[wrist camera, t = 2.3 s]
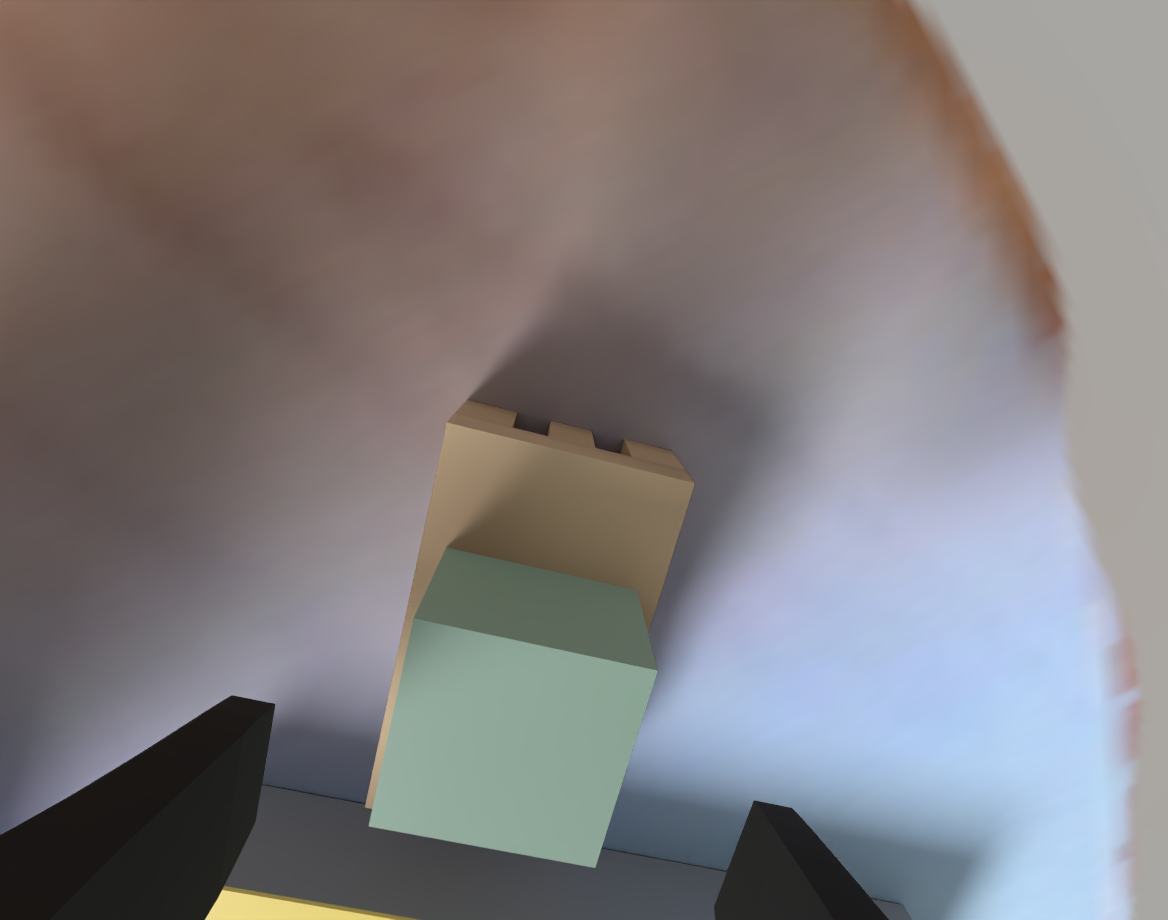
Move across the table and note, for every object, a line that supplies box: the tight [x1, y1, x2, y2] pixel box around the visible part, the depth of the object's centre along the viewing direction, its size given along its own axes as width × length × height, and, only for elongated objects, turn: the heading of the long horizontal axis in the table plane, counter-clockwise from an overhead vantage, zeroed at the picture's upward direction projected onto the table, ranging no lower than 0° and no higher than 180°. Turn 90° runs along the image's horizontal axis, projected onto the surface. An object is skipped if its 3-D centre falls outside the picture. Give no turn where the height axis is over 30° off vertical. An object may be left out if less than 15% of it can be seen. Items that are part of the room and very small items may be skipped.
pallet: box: [365, 400, 695, 809], centre depth 15 cm, size 9×5×3 cm, turn 165°
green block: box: [369, 547, 658, 868], centre depth 12 cm, size 4×4×3 cm
